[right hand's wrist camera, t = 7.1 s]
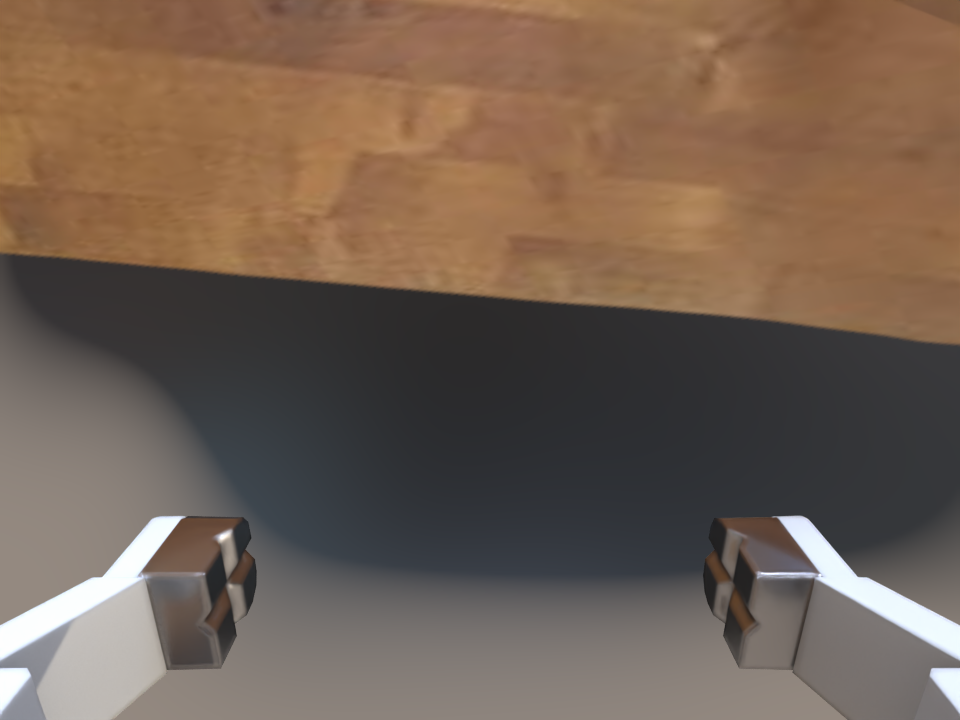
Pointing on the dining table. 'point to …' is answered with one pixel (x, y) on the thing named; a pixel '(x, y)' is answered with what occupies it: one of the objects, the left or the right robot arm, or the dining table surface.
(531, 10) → the dining table surface
